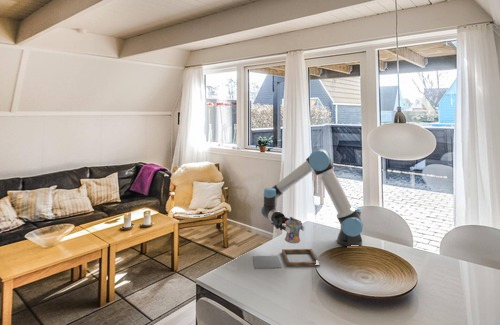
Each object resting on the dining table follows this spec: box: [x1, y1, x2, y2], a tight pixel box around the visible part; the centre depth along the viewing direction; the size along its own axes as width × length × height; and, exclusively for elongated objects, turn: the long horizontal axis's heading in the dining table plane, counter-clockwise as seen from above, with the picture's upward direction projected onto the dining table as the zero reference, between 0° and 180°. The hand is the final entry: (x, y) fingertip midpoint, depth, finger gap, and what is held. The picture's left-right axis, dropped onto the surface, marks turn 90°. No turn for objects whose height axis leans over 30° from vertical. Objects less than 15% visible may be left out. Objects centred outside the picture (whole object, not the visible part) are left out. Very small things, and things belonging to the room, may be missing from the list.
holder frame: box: [281, 248, 319, 268], centre depth 163 cm, size 17×17×2 cm
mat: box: [252, 255, 282, 270], centre depth 159 cm, size 14×14×1 cm
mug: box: [284, 220, 303, 244], centre depth 161 cm, size 12×9×11 cm
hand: (296, 229), depth 156 cm, fingers closed on mug, 8 cm apart
